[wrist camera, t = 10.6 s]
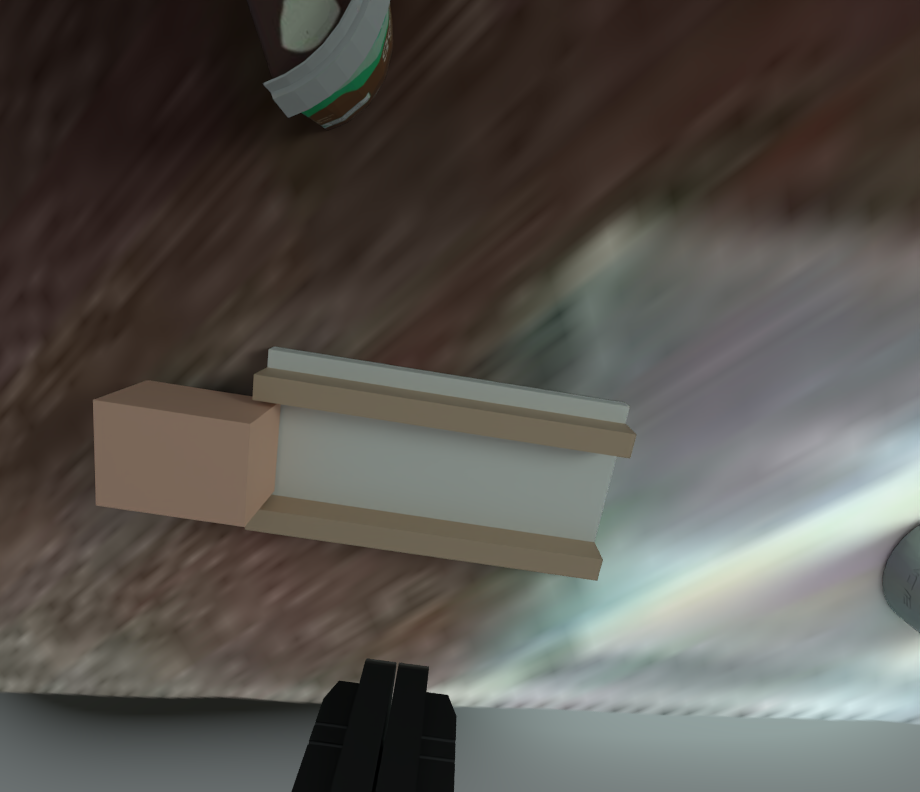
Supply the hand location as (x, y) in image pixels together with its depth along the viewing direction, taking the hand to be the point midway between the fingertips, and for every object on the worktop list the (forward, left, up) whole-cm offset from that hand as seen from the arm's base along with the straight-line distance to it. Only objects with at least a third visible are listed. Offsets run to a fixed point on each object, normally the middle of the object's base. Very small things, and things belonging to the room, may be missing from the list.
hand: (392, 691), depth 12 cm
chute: (-1, +3, -21) cm, 21 cm away
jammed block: (+13, +3, -19) cm, 24 cm away
